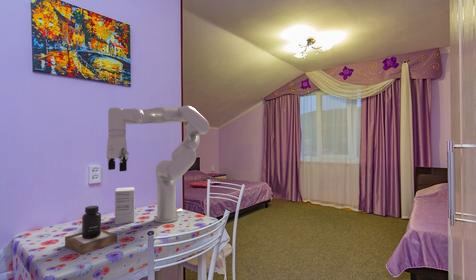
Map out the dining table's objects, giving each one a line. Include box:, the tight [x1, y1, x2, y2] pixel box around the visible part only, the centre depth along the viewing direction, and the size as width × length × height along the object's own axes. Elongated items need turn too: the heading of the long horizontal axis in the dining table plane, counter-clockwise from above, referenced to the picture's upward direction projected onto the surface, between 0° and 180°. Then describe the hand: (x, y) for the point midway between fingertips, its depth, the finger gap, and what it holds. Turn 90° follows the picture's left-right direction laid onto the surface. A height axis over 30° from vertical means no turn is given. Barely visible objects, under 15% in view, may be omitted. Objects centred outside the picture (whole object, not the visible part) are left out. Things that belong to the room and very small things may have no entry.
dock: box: [64, 228, 118, 256], centre depth 106 cm, size 14×14×4 cm
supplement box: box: [114, 186, 136, 225], centre depth 136 cm, size 10×9×17 cm
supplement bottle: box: [81, 205, 102, 239], centre depth 106 cm, size 7×7×12 cm
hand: (117, 170), depth 122 cm, fingers open, 9 cm apart
